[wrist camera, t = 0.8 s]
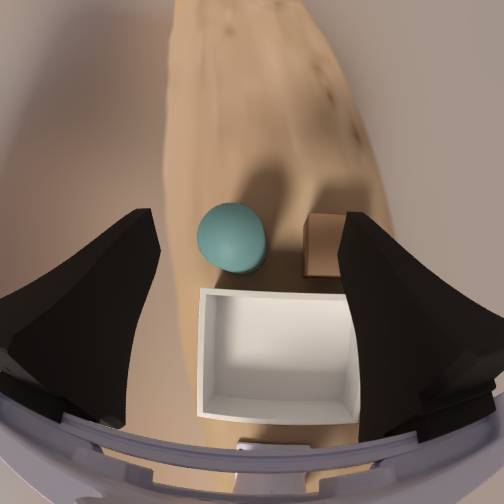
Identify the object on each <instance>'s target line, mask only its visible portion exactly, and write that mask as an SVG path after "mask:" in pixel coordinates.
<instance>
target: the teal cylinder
mask: <svg viewBox="0 0 504 504" xmlns="http://www.w3.org/2000/svg"><path fill="white" fill-rule="evenodd" d="M197 243H198V247H199V249H200V252H201V253H202V255H203V256H204V258H205V259H206V260H207V261H208V262H210V263H211V264H212V265H214V266H216V267H219V268H221V269H224V270H227V271H229V272H232V273H235V274H248V273H251V272H253V271H255V270H257V269H258V268H259V267H260V266H261V265H262V263H263V262H264V260H265V258H266V254H267V243H266V239H265V234H264V230H263V226H262V223H261V221H260V219H259V217H258V216H257V215H256V213H255V212H254V211H253V210H251V209H250V208H249V207H247V206H245V205H242V204H238V203H224V204H221V205H218V206H216V207H214V208H213V209H211V210H210V211H209V212H208V213H207V214H206V215H205V216H204V217H203V219H202V220H201V222H200V225H199V227H198V232H197Z"/></svg>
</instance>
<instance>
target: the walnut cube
mask: <svg viewBox="0 0 504 504" xmlns="http://www.w3.org/2000/svg"><path fill="white" fill-rule="evenodd" d="M345 220H346V215H337V214H320V213H309V215H308V217H307V219H306V222H305V224H304V229H303V268H302V277H313V278H341V277H340V271H339V264H338V257H337V253H338V249H339V245H340V241H341V237H342V233H343V228H344V224H345Z"/></svg>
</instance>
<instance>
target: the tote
mask: <svg viewBox="0 0 504 504" xmlns="http://www.w3.org/2000/svg"><path fill="white" fill-rule="evenodd" d="M359 412H360V374H359V360H358V350H357V342H356V335H355V330H354V325H353V321H352V318H351V314H350V310H349V306H348V303H347V299H346V295H345V294H331V293H297V292H273V291H252V290H234V289H218V288H200V306H199V330H198V367H197V416H199V417H205V418H212V419H219V420H227V421H236V422H246V423H258V424H276V425H330V424H347V423H358V418H359Z"/></svg>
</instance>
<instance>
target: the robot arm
mask: <svg viewBox="0 0 504 504" xmlns="http://www.w3.org/2000/svg"><path fill="white" fill-rule="evenodd" d="M160 253H161V249H160V245H159V241H158V237H157V233H156V229H155V225H154V221H153V217H152V213H151V209H150V208H143V209H135V210H133V211H132V212H130V213H129V214H127V215H126V216H124V217H123V218H121V219H120V220H119V221H117V222H116V223H115V224H114V225H112V226H111V227H110V228H108V229H107V230H106V231H105V232H104V233H102V234H101V235H99V236H98V237H97V238H96V239H94V240H93V241H92V242H90V243H89V244H88V245H86V246H85V247H84V248H83V249H81V250H80V251H79V252H77V253H76V254H75V255H74V256H72V257H70V258H69V259H68V260H66V261H65V262H63V263H62V264H60V265H59V266H57V267H56V268H54V269H53V270H51V271H50V272H48V273H46V274H45V275H43V276H41V277H40V278H38V279H37V280H35V281H33V282H32V283H30V284H28V285H26V286H24V287H23V288H21V289H19V290H17V291H15V292H13V293H11V294H9V295H7V296H5V297H3V298H1V299H0V370H1V372H0V458H1V459H2V460H3V461H4V462H5V463H6V464H7V465H8V466H9V467H10V468H11V469H12V470H13V471H14V472H15V473H16V474H17V475H18V476H19V477H20V478H21V479H23V480H24V481H25V482H26V483H27V484H28V485H29V486H31V487H32V488H33V489H34V490H35V491H36V492H38V493H39V494H40V495H41V496H43V497H44V498H45V499H46V500H48V501H49V502H50V503H52V504H456V503H457V502H459V501H460V500H462V499H463V498H465V497H466V496H467V495H469V494H470V493H471V492H473V491H474V490H475V489H477V488H478V487H479V486H481V485H482V484H483V483H484V482H486V481H487V480H488V479H489V478H490V477H492V476H493V475H494V474H495V473H496V472H497V471H499V470H500V469H501V468H502V467H503V466H504V392H503V393H501V394H499V395H497V396H496V397H494V398H493V395H492V392H491V391H493V390H494V389H495V388H496V384H495V381H494V379H495V378H496V377H497V376H498V375H499V374H500V373H502V372H503V371H504V318H502V317H500V316H499V315H496V314H495V313H493V312H491V311H489V310H487V309H486V308H484V307H482V306H480V305H479V304H477V303H475V302H474V301H472V300H471V299H469V298H467V297H466V296H464V295H463V294H462V293H460V292H459V291H457V290H456V289H454V288H453V287H451V286H450V285H449V284H447V283H446V282H444V281H443V280H442V279H440V278H439V277H438V276H437V275H435V274H434V273H433V272H431V271H430V270H429V269H427V268H426V267H425V266H424V265H422V264H421V263H420V262H419V261H418V260H417V259H416V258H414V257H413V256H412V255H411V254H410V253H409V252H407V251H406V250H405V249H404V248H403V247H402V246H401V245H400V244H399V243H397V242H396V241H395V240H394V239H393V238H392V237H391V236H390V235H389V234H388V233H386V232H385V231H384V230H383V229H382V228H381V227H380V226H379V225H378V224H376V223H375V222H374V221H373V220H372V219H371V218H369V217H368V216H367V215H366V214H364V213H363V212H348V211H347V215H346V220H345V224H344V228H343V233H342V237H341V241H340V245H339V249H338V253H337V257H338V264H339V271H340V277H341V281H342V284H343V288H344V292H345V295H346V299H347V303H348V306H349V310H350V314H351V318H352V321H353V325H354V330H355V335H356V342H357V350H358V360H359V374H360V425H359V437H358V439H359V443H357V444H350V445H343V446H335V447H326V448H316V449H311V447H310V446H309V445H282V444H261V443H248V442H238V443H237V445H236V450H234V449H220V448H209V447H200V446H192V445H185V444H179V443H172V442H167V441H162V440H156V439H152V438H147V437H143V436H138V435H134V434H130V433H126V432H122V431H118V430H115V429H120V428H122V427H124V425H126V422H125V421H126V419H125V418H126V417H125V416H126V413H125V412H126V388H127V378H128V369H129V362H130V356H131V350H132V344H133V340H134V334H135V330H136V327H137V323H138V320H139V317H140V314H141V311H142V308H143V306H144V303H145V300H146V298H147V295H148V292H149V289H150V287H151V284H152V281H153V279H154V276H155V273H156V269H157V265H158V261H159V257H160ZM90 421H92V422H94V423H92V422H90ZM96 423H98V424H96ZM99 424H101V425H99ZM102 425H105V426H108V427H111V428H108V427H105V426H102ZM112 428H115V429H112ZM99 446H100V447H104V448H107V449H110V450H113V451H116V452H119V453H123V454H126V455H130V456H133V457H138V458H141V459H145V460H149V461H154V462H159V463H163V464H169V465H174V466H180V467H186V468H193V469H200V470H208V471H218V472H230V473H235V486H234V490H233V493H223V492H212V491H203V490H195V489H188V488H182V487H176V486H170V485H165V484H160V483H155V482H153V481H152V480H153V470H152V469H149V468H145V467H142V466H138V465H135V464H131V463H128V462H126V461H122V460H119V459H116V458H113V457H110V456H107V455H105V454H104V453H103V451H102V449H101V448H100V447H99ZM240 448H241V449H243V450H239V449H240ZM373 462H375V463H374V464H373V465H372V466H371V468H370V469H369V470H367V471H363V472H358V473H353V474H347V475H341V476H337V477H331V478H325V479H321V480H320V481H319V492H313V493H307V492H306V484H305V478H306V473H307V472H315V471H324V470H333V469H340V468H346V467H353V466H358V465H363V464H369V463H373Z"/></svg>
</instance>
